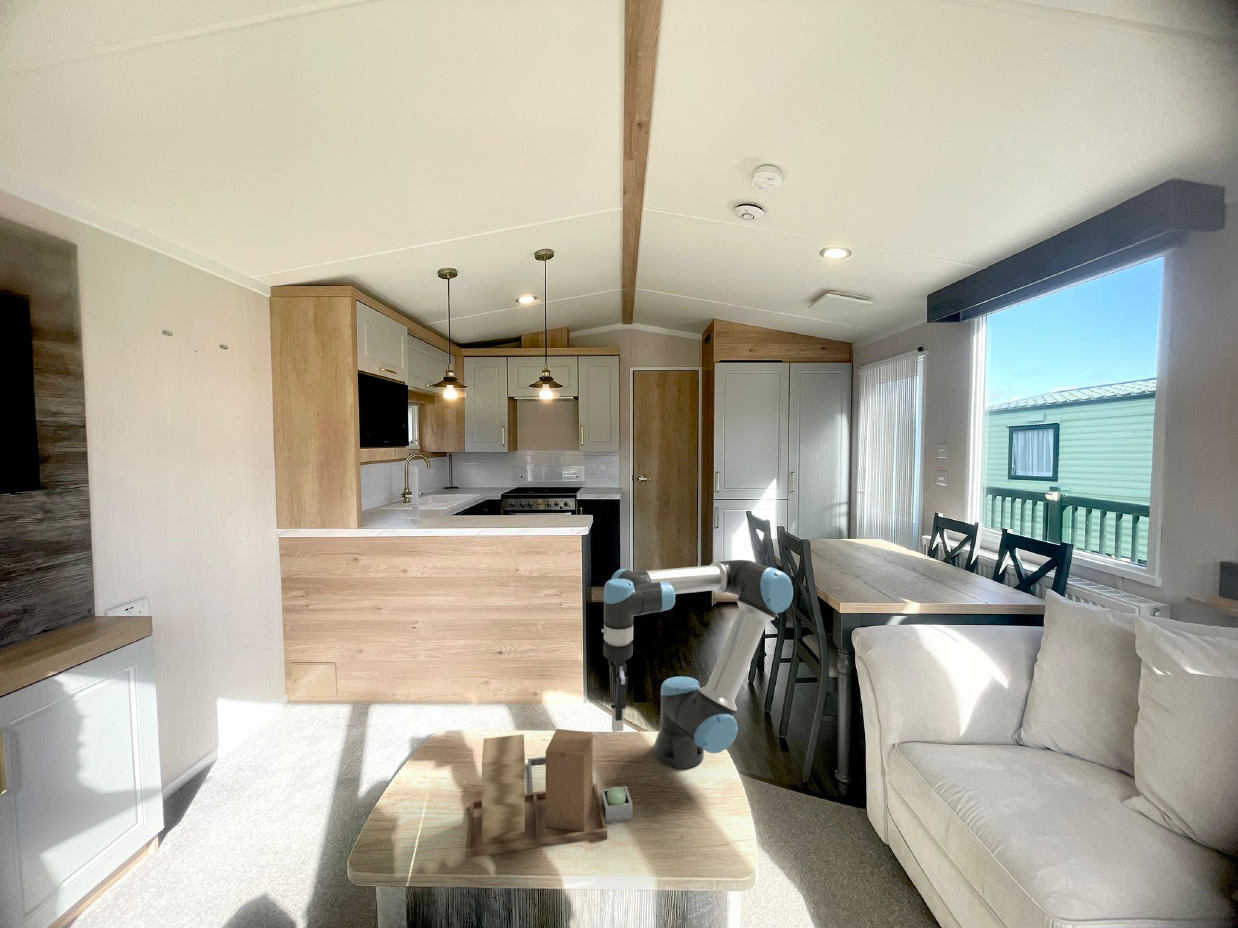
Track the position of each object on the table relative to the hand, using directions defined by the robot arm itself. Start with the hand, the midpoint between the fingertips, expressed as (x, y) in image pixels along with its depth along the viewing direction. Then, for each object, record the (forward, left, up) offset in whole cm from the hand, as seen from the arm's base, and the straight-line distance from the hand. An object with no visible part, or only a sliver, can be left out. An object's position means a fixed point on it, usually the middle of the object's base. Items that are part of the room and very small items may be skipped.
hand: (617, 729), depth 135 cm
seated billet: (+29, 0, -22) cm, 36 cm away
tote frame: (+14, -16, -22) cm, 31 cm away
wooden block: (+12, 0, -22) cm, 25 cm away
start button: (0, 0, -21) cm, 21 cm away
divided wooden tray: (+21, 0, -22) cm, 30 cm away
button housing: (0, 0, -22) cm, 22 cm away
